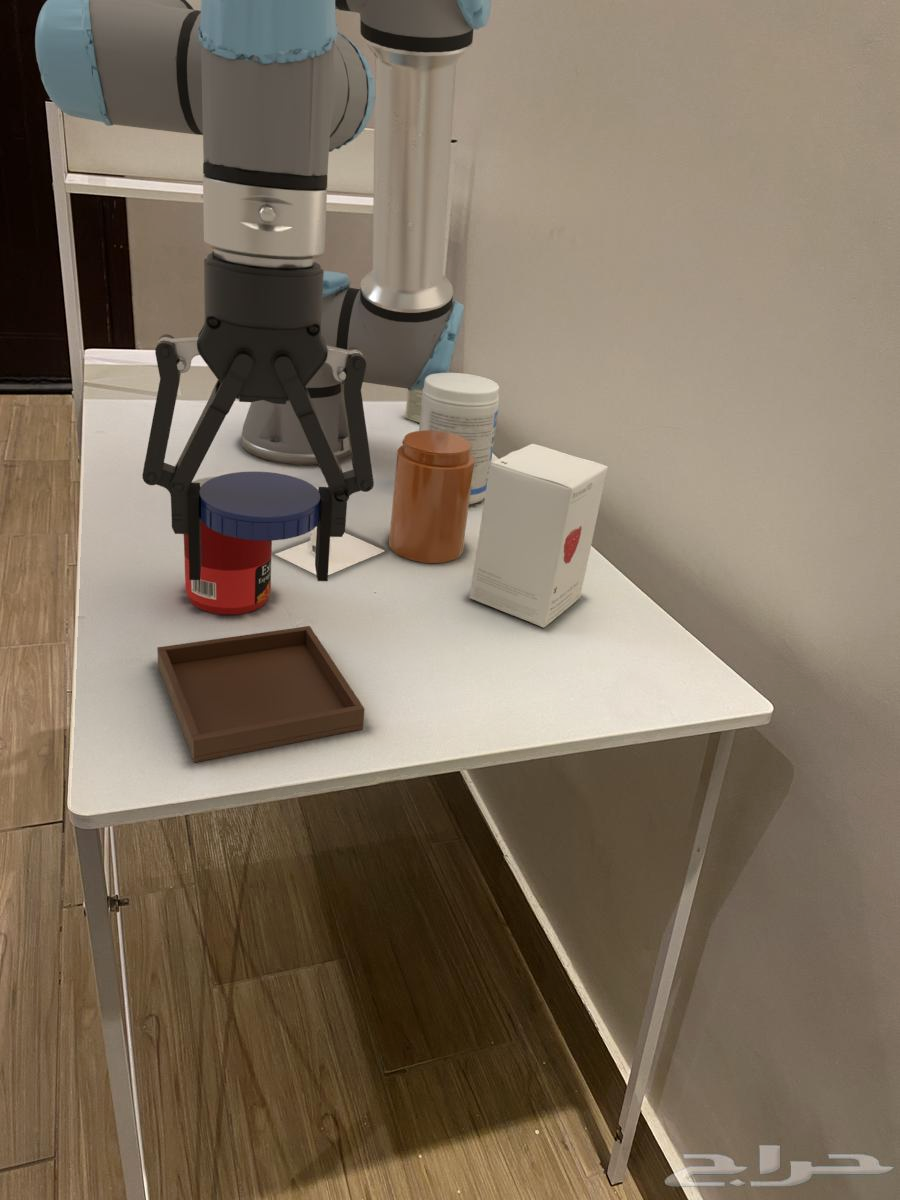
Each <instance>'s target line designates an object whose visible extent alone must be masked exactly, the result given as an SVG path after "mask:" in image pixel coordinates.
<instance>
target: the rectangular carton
mask: <svg viewBox="0 0 900 1200" xmlns="http://www.w3.org/2000/svg"><path fill="white" fill-rule="evenodd" d="M608 468H609V467H608V465H605V464H602V463H599V462H597V461H592V460H589V459H585V458H582V457H578V456H575V455H571V454H569V453H565V452H562V451H559V450H556V449H552V448H550V447H546V446H543V445H540V444H537V443H530V444H528V445H526V446H524V447H521V448H520V449H517V450H513V451H511V452H509V453H508V454H506V455H504V456H502V457H500V458H498V459H496V460H493V461H491V463H490V468H489V474H488V481H487V487H486V494H485V498H484V499H483V500H484V501H483V507H482V514H481V522H480V525H479V526H480V527H479V534H478V539H477V544H476V545H477V547H476V552H475V558H474V559H475V560H474V566H473V571H472V580H471V585H470V590H469V591H470V593H469V599H471V600H474V601H476V602H478V603H481V604H483V605H486V606H489V607H491V608H494V609H495V610H498V611H501V612H504V613H506V614H508V615H510V616H514V617H516V618H518V619H520V620H523V621H527V622H529V623H531V624H534V625H536V626H539V627H541V628H546V627H547V626H548V625H550V623H552V622H553V621H554V620H555V619H557V618H558V617H559V616H560V615H562V614H563V613H564V612H565V611H567V610H568V609H569V608H570V607H571V606H573V604H575V603H576V602H577V601H578V600H579V599H580V598H581V595H582V590H583V586H584V580H585V576H586V573H587V567H588V562H589V557H590V552H591V549H592V544H593V539H594V534H595V529H596V524H597V519H598V515H599V509H600V505H601V500H602V496H603V492H604V486H605V482H606V478H607V472H608Z"/></svg>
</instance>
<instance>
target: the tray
mask: <svg viewBox="0 0 900 1200" xmlns="http://www.w3.org/2000/svg"><path fill="white" fill-rule="evenodd" d="M156 651H157V668H158V670H159V673H160V676H161V679H162V681H163V684H164V686H165V689H166V691H167V695H168V697H169V700H170V702H171V705H172V708H173V710H174V713H175V716H176V718H177V721H178V724H179V726H180V729H181V732H182V734H183V737H184V740H185V742H186V745H187V748H188V750H189V753H190V755H191V758H192V761H193V763H198V762H203V761H208V760H213V759H218V758H219V759H220V758H224V757H228V756H229V757H230V756H233V755H239V754H243V753H248V752H254V751H259V750H264V749H269V748H274V747H280V746H285V745H290V744H293V743H298V742H305V741H309V740H315V739H320V738H325V737H330V736H334V735H339V734H345V733H350V732H354V731H360V730H364V718H365V707H364V706H363V704H362V702H361V701H360V699H359V698H358V697H357V695H356V693H355V692H354V690H353V689H352V688H351V686H350V684H349V683H348V682H347V680H346V679H345V677H344V675H343V673H342V672H341V670H340V669H339V667H338V666H337V665H336V663H335V662H334V660H333V659H332V657H331V656H330V654H329V653H328V652H327V649H326V648H325V646H324V645H323V643H322V642H321V641H320V639H319V637H318V636H317V634H316V633H315V631H314V630H313V629H312V627H311V626H310V625H306V626H300V627H292V628H291V627H290V628H286V629H284V628H283V629H277V630H271V631H270V630H269V631H263V632H257V633H249V634H243V635H235V636H229V637H221V638H214V639H206V640H199V641H193V642H185V643H179V644H171V645H165V646H158V647H157V649H156Z"/></svg>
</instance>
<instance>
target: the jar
mask: <svg viewBox="0 0 900 1200" xmlns="http://www.w3.org/2000/svg"><path fill="white" fill-rule="evenodd" d="M401 443H402V445H401V446H399V447H398V449H397V451H396V462H395V472H394V483H393V492H392V493H393V495H392V507H391V514H390V515H391V517H390V526H389V537H388V546H389V548H390V549H391V551H392V552H394V553H395V554H396V555H397V556H400V557H401V558H404V559H406V560H410V561H413V562H419V563H426V564H443V563H449V562H452V561H454V560H456V559H458V558H460V557H461V555H463V553H464V552H463V551H464V545H465V537H466V529H467V522H468V515H469V514H468V513H469V506H470V504H469V500H470V493H471V485H472V478H473V470H474V463H475V458H474V456H473V455H472V454H471V453H470V450H471V444H470V442H469V441H468V440H466V439H465V438H463V437H461V436H458V435H455V434H452V433H447V432H441V431H429V430H426V431H419V430H415V431H411V432H409V433H406V435H404V437H403V439H402V442H401Z"/></svg>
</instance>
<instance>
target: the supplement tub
mask: <svg viewBox="0 0 900 1200" xmlns="http://www.w3.org/2000/svg"><path fill="white" fill-rule="evenodd" d="M499 393H500V386H499V384H498V383H497V382H496V381H494V380H492V379H489V378H487V377H483V376H480V375H476V374H470V373H463V372H450V373H436V374H431V375H429V376H427V377H426V378H425V382H424V388H423V393H422V403H421V414H420V423H419V427H418V431H426V430H429V431H441V432H447V433H452V434H455V435H458V436H461V437H463V438H465V439H466V440H468V441H469V442H470V444H471V450H470V453H471V454H472V455H473V456H474V458H475V463H474V470H473V478H472V485H471V493H470V500H469V505H474V504H477V503H479V502H481V501H482V500H485V494H486V487H487V481H488V474H489V468H490V463H491V462H493V461H492V460H493V453H494V444H495V437H496V429H497V421H498V413H499V404H500V395H499Z"/></svg>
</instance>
